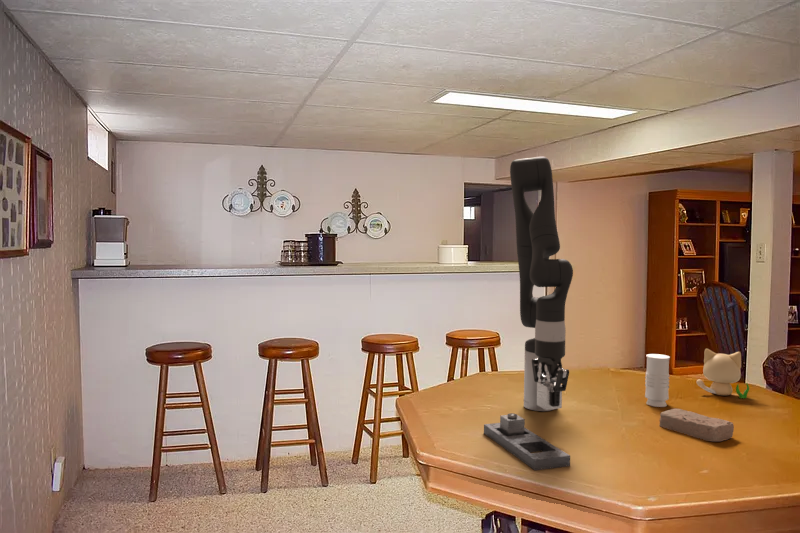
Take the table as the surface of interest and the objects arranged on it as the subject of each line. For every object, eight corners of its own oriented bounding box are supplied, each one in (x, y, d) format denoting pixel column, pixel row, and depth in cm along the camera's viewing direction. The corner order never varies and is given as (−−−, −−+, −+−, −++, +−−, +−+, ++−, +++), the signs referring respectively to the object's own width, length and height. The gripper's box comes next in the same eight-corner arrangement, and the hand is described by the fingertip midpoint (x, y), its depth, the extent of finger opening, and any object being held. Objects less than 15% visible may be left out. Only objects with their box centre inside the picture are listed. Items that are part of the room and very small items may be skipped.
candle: (644, 405, 187) (645, 357, 186) (644, 400, 193) (646, 353, 192) (668, 408, 184) (670, 359, 183) (668, 402, 191) (669, 355, 190)
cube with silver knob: (551, 403, 159) (552, 377, 159) (561, 408, 155) (562, 382, 154) (536, 404, 158) (537, 379, 157) (546, 410, 153) (546, 384, 153)
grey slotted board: (514, 430, 163) (514, 421, 163) (570, 466, 138) (570, 455, 138) (483, 433, 160) (483, 424, 160) (534, 470, 135) (535, 459, 135)
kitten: (749, 394, 201) (751, 349, 200) (747, 401, 192) (749, 354, 191) (699, 388, 209) (701, 344, 208) (695, 394, 200) (697, 349, 199)
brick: (657, 427, 167) (658, 410, 167) (676, 422, 172) (676, 405, 172) (716, 445, 153) (716, 427, 153) (734, 439, 158) (735, 422, 157)
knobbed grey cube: (515, 436, 158) (516, 411, 157) (524, 442, 153) (524, 416, 153) (499, 438, 156) (500, 412, 156) (508, 444, 152) (508, 418, 151)
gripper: (579, 341, 149) (578, 410, 151) (547, 331, 163) (546, 394, 164) (553, 344, 147) (552, 413, 148) (522, 333, 160) (521, 397, 162)
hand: (549, 402), depth 156 cm, fingers closed on cube with silver knob, 4 cm apart
